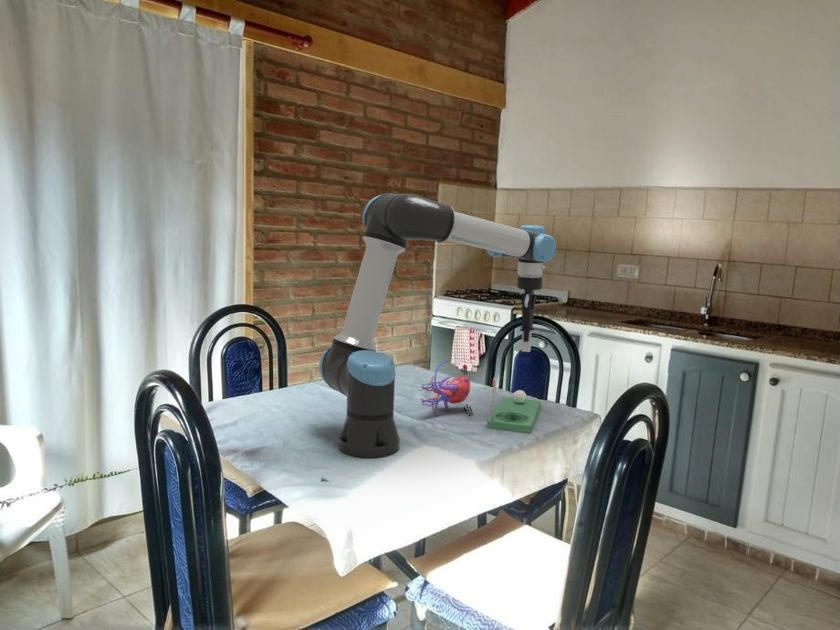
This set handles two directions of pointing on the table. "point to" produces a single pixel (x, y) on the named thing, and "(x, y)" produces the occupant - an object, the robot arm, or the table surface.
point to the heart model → (449, 391)
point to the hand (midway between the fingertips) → (525, 351)
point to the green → (513, 414)
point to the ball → (519, 396)
